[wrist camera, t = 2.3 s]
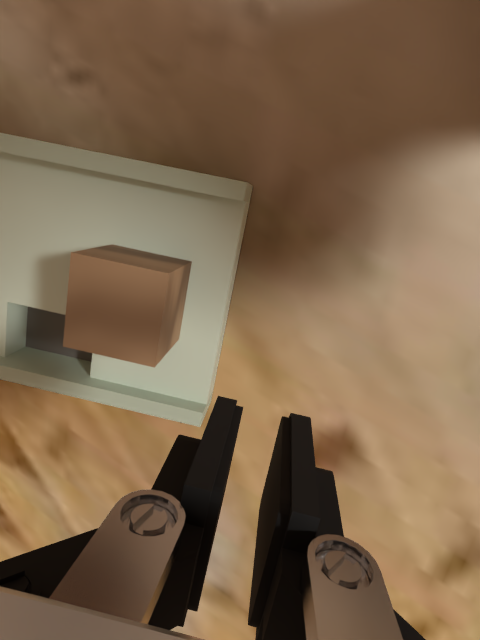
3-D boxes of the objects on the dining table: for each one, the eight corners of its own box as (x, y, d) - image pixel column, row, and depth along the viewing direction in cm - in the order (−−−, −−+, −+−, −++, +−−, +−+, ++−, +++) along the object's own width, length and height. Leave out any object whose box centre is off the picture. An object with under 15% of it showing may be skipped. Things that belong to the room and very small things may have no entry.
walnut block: (112, 244, 26) (70, 252, 21) (191, 261, 25) (168, 273, 20) (103, 322, 27) (62, 346, 22) (179, 339, 27) (154, 367, 22)
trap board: (252, 186, 26) (247, 182, 23) (210, 401, 30) (200, 427, 27) (-134, 108, 28) (-196, 92, 24) (-125, 322, 32) (-177, 337, 28)
